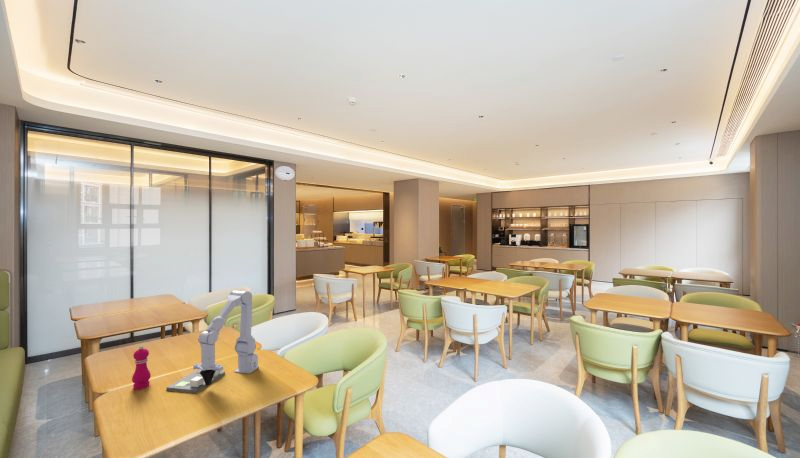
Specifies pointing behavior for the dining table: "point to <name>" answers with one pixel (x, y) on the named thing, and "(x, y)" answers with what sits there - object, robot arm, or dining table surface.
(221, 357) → the dining table surface
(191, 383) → the left knob
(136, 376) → the pepper mill
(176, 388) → the switch board
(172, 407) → the dining table surface
